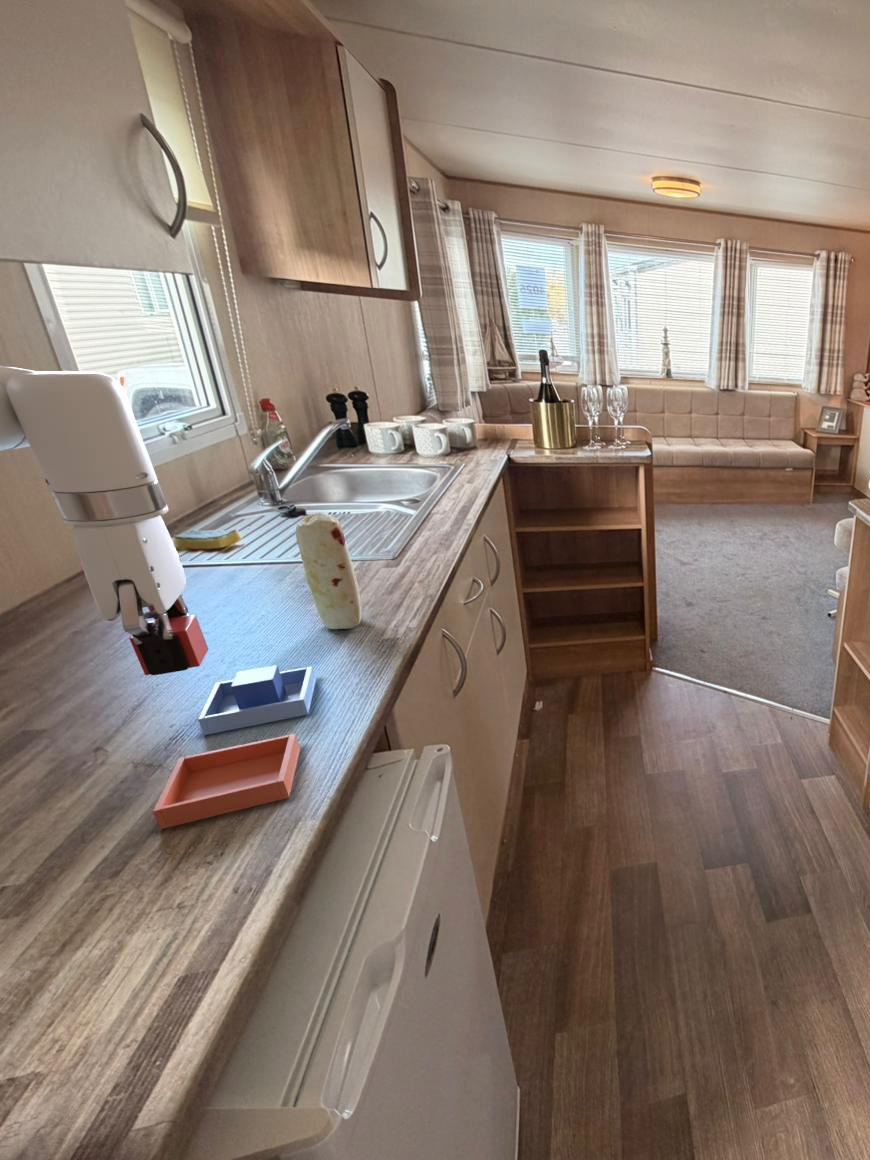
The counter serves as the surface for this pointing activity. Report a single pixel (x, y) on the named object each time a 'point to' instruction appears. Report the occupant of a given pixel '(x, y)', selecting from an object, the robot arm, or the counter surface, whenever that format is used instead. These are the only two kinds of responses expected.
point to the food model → (329, 571)
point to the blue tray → (227, 716)
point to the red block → (183, 640)
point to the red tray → (228, 780)
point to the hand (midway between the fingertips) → (176, 659)
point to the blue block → (258, 687)
